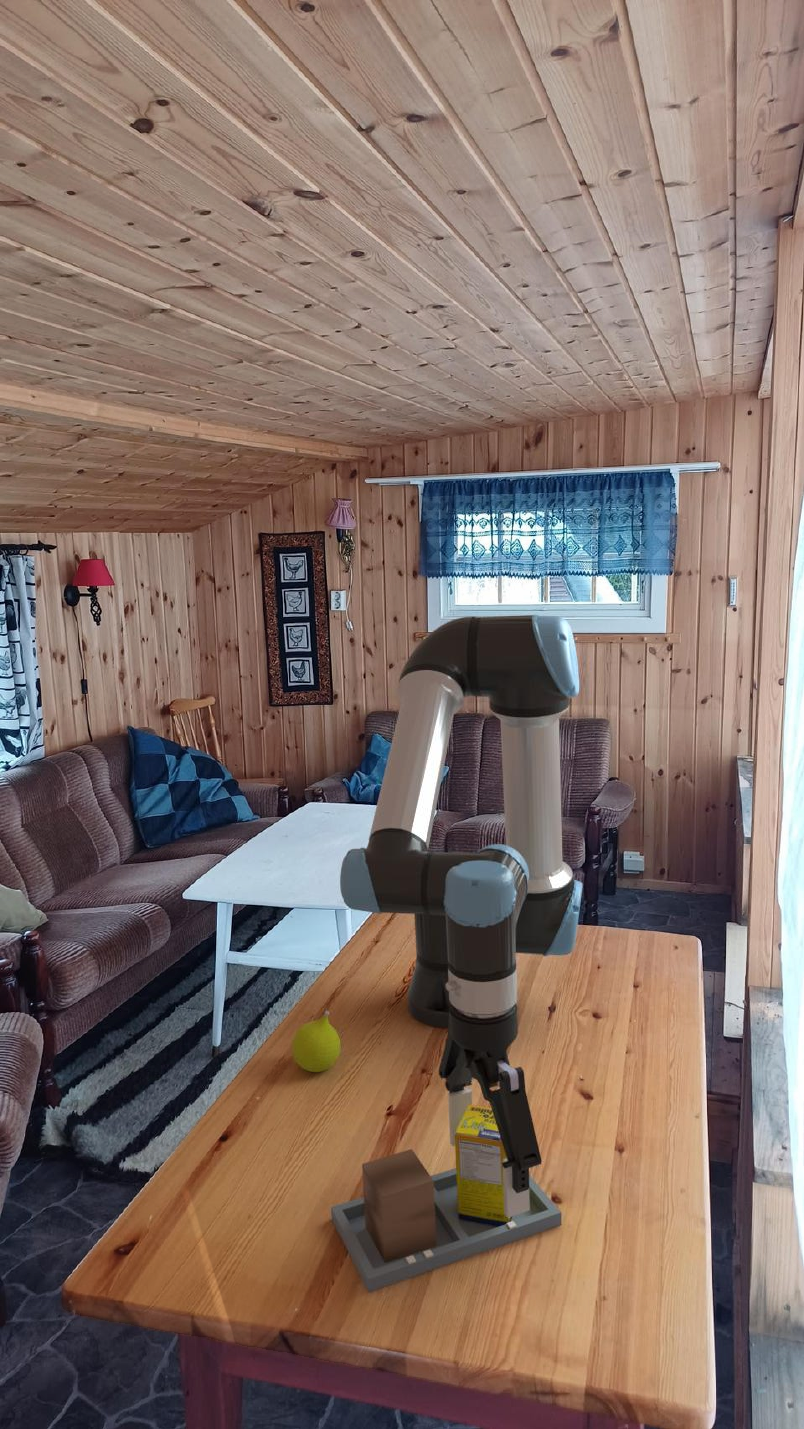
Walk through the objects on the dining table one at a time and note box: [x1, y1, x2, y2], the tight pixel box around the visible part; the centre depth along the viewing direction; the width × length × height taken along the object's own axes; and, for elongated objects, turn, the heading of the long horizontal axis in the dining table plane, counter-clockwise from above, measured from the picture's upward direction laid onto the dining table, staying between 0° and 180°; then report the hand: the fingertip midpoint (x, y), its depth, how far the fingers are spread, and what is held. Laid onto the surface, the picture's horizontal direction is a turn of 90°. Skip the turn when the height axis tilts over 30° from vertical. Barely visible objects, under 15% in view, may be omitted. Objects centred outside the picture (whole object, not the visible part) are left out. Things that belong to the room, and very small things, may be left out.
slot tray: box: [330, 1167, 562, 1293], centre depth 110 cm, size 12×23×2 cm, turn 112°
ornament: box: [291, 1010, 342, 1073], centre depth 143 cm, size 7×7×10 cm
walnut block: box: [361, 1149, 436, 1263], centre depth 108 cm, size 6×6×8 cm
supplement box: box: [454, 1104, 512, 1226], centre depth 112 cm, size 6×6×11 cm
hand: (487, 1175), depth 112 cm, fingers open, 13 cm apart
